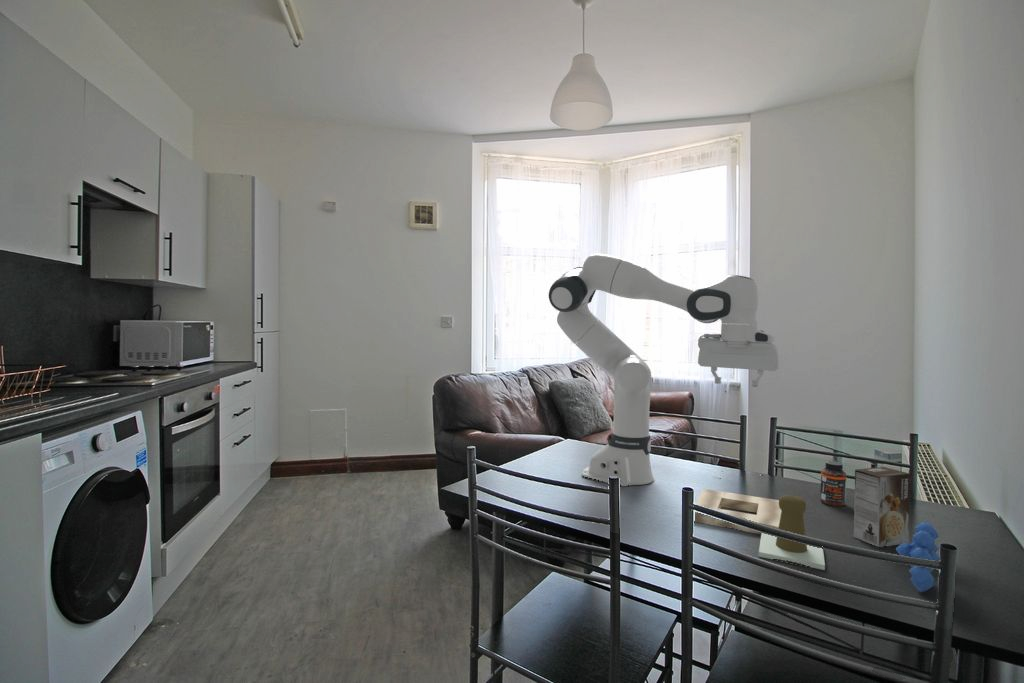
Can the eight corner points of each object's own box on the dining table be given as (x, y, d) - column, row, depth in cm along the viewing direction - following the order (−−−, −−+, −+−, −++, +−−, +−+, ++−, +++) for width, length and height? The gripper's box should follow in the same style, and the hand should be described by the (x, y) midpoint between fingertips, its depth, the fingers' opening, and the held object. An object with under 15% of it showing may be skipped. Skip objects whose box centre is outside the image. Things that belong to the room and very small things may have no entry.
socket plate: (690, 521, 126) (691, 511, 126) (703, 497, 144) (703, 488, 144) (781, 537, 117) (781, 527, 117) (782, 510, 134) (782, 500, 134)
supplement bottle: (823, 505, 138) (824, 464, 137) (817, 498, 144) (818, 459, 143) (848, 508, 136) (849, 466, 136) (841, 500, 142) (842, 460, 141)
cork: (798, 541, 113) (800, 492, 112) (812, 553, 107) (814, 502, 106) (770, 540, 113) (771, 491, 113) (783, 552, 107) (784, 501, 107)
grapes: (899, 568, 102) (901, 510, 102) (943, 580, 98) (945, 519, 97) (889, 589, 94) (891, 526, 94) (936, 603, 90) (938, 537, 89)
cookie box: (881, 532, 120) (884, 465, 120) (909, 543, 114) (912, 473, 113) (852, 536, 118) (854, 468, 117) (879, 548, 111) (881, 476, 111)
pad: (758, 556, 107) (758, 551, 107) (761, 535, 118) (761, 531, 118) (824, 570, 102) (824, 565, 102) (821, 547, 112) (821, 542, 112)
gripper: (696, 333, 141) (694, 383, 141) (779, 336, 131) (777, 389, 131) (700, 333, 146) (698, 380, 147) (780, 335, 136) (777, 386, 137)
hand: (736, 385), depth 139 cm, fingers open, 8 cm apart
